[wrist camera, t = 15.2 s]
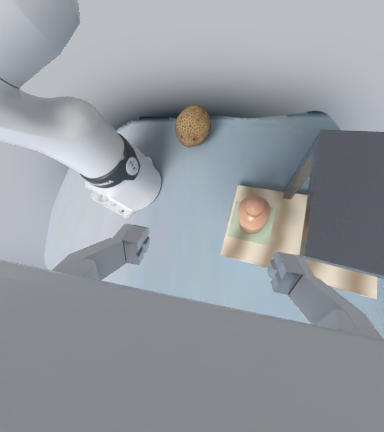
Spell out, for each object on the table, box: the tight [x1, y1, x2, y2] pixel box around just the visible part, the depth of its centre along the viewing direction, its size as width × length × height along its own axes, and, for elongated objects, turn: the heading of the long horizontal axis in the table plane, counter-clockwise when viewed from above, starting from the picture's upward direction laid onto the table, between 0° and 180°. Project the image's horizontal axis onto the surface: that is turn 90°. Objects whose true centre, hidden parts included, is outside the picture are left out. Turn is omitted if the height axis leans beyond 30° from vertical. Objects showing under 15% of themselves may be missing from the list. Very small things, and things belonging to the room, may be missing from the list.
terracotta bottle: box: [238, 196, 270, 234], centre depth 29 cm, size 5×5×10 cm
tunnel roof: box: [283, 130, 384, 279], centre depth 23 cm, size 12×15×16 cm
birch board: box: [221, 185, 377, 299], centre depth 33 cm, size 25×16×2 cm, turn 73°
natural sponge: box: [175, 105, 211, 147], centre depth 42 cm, size 9×9×10 cm
